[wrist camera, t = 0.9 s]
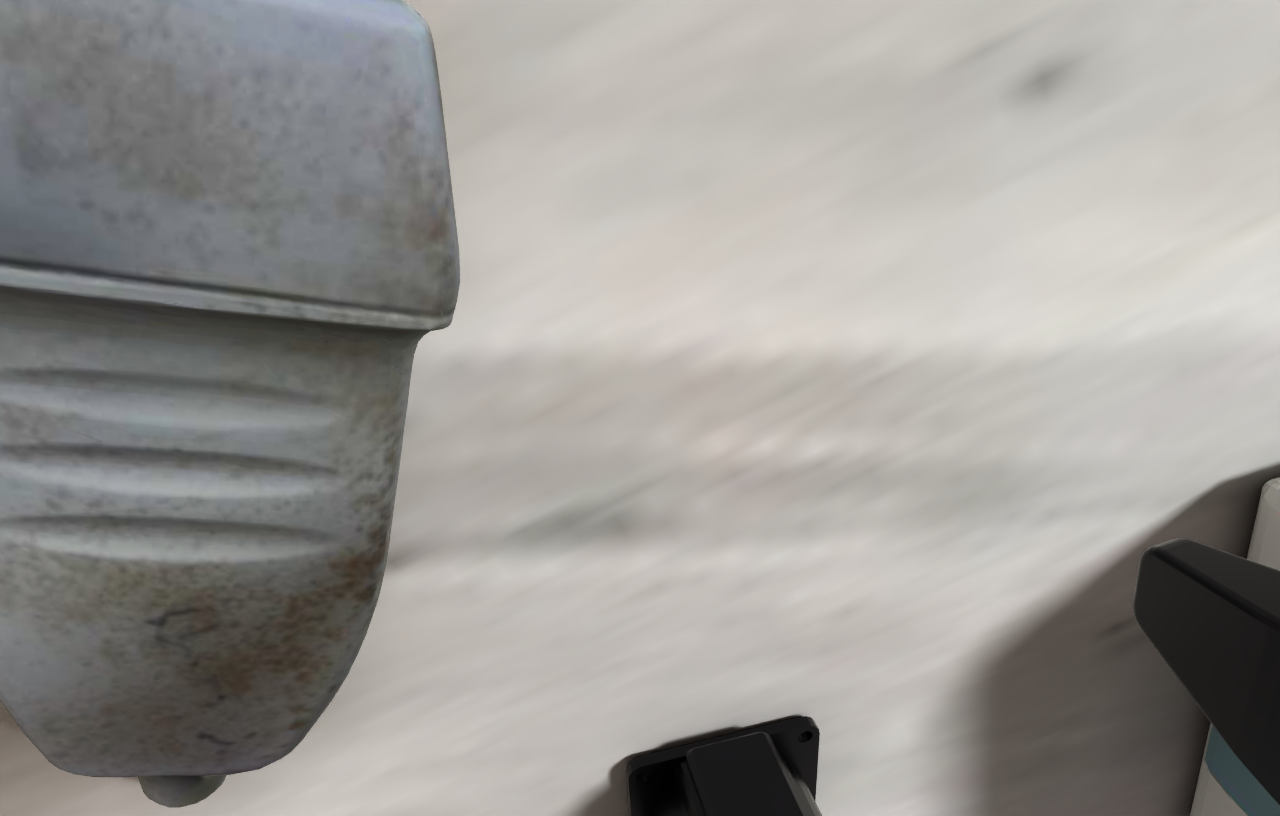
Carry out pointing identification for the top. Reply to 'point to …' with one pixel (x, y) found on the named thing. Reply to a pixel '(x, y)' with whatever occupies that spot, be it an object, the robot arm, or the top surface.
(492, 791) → the top surface
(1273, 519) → the stereo radio cassette player
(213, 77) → the handheld device
